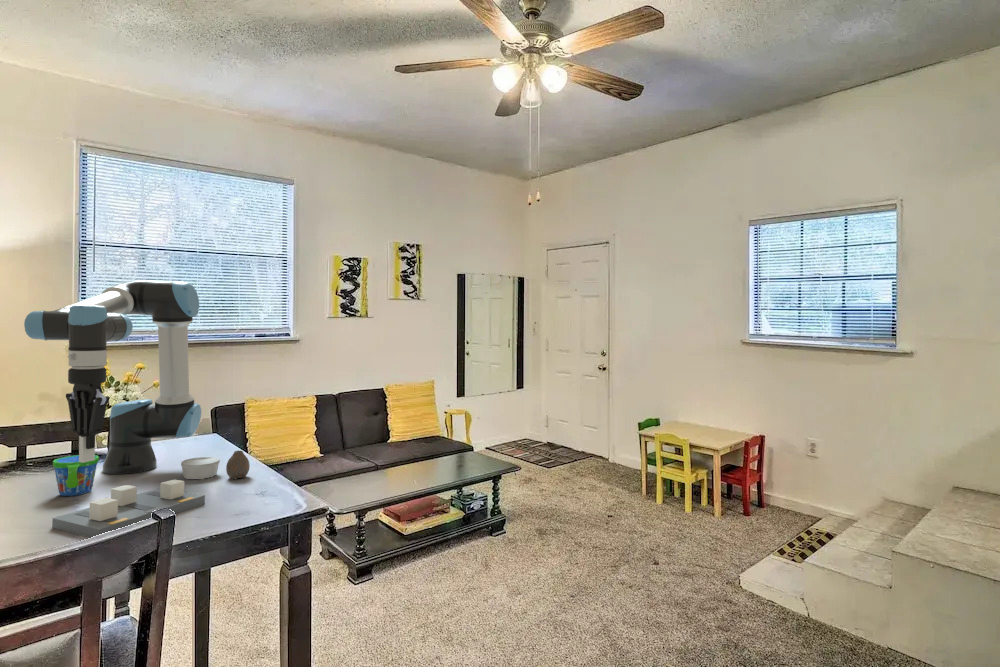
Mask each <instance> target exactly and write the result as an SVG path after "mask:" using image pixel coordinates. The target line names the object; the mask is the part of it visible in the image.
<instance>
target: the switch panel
mask: <svg viewBox="0 0 1000 667" xmlns="http://www.w3.org/2000/svg"><path fill="white" fill-rule="evenodd" d="M205 498H206V495H205V494H200V493H195V492H188V491H185V490H184V496H181V497H178V498H174V499H171V500H170V499H165V498H160V487H159V488H155V489H151V490H148V491H144V492H139V493H137V502H134V503H131V504H127V505H124V506H118V516H116V517H113V518H110V519H106V520H103V521H97V520H92V519H89V513H90V507H86V508H84V509H80V510H77V511H74V512H73V511H72V512H69V513H65V514H62V515H57V516H56V517H52V522H51V523H52V524H51V527H52V529H54V530H59V531H63V532H67V533H69V534H70V533H71V534H75V535H79V536H82V537H85V538H86V537H87V538H90V537H93V536H96V535H99V534H102V533H105V532H108V531H112V530H116V529H118V528H122V527H125V526H128V525H131V524H133V523H137V522H139V521H142V520H146V519H149V518H151V513H152V511H154V510H158V509H162V508H168V509H171V510H172V511H174V512H175V513H176V514H179V513H182V512H184V511H188V510H190V509H193V508H197V507H199V506H201V505H202V506H203V505H205V502H206V501H205V500H206V499H205Z"/></svg>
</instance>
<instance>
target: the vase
mask: <svg viewBox="0 0 1000 667" xmlns="http://www.w3.org/2000/svg"><path fill="white" fill-rule="evenodd" d="M250 466H251V465H250V461H249V458H248V457H247V456H246V455H245V454H244V451H243V450H234V452H233V454H232V455H231V456H230V458H228V460H227V462H226V466H225V469H226V470H225V471H226V474H227V476H228V477H229V479H231V478H242V477H244V478H245V477H246V476H247V475H249V471H250ZM242 479H243V478H242Z"/></svg>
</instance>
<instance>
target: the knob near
mask: <svg viewBox="0 0 1000 667" xmlns="http://www.w3.org/2000/svg"><path fill="white" fill-rule="evenodd" d="M89 508H90V513H89V519H92V520H97V521H103V520H106V519H110V518H113V517H116V516H118V500H116V499H111V497H103V498H101V499H98V500H94V501H89Z"/></svg>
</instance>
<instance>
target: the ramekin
mask: <svg viewBox="0 0 1000 667" xmlns="http://www.w3.org/2000/svg"><path fill="white" fill-rule="evenodd" d="M220 462H221V460H220V458H218V457H214V456H200V457H194V458H193V457H191V458H188V459H184V460H183V461H181V462H180V466H181V470H182V476H183V478H186V480H188V479H202V480H205V479H204V478H208V479H210V478H209V477H211V478H213V477H212V476H214V475H215V476H216V475H217V473H218V470H219V466H220ZM215 476H214V477H215Z"/></svg>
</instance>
